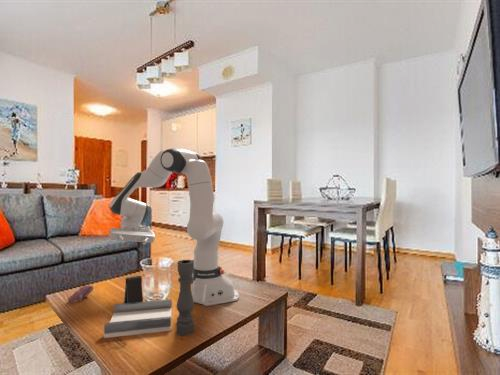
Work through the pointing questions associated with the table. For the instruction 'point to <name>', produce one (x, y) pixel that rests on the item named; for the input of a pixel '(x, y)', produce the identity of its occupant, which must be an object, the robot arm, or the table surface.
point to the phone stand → (133, 290)
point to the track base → (136, 316)
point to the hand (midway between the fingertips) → (134, 242)
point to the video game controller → (81, 293)
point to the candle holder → (185, 299)
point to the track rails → (140, 323)
